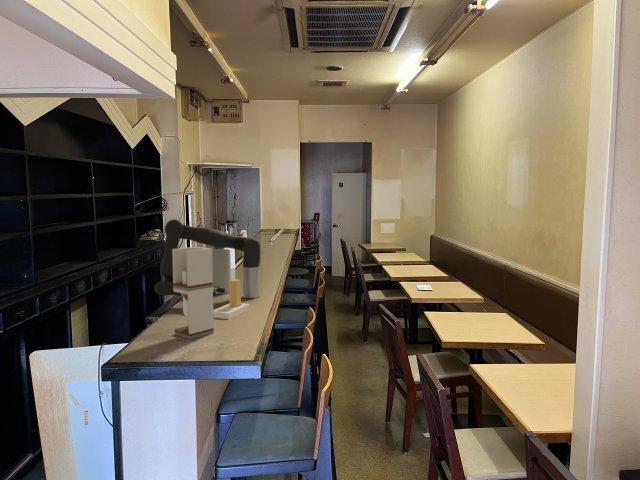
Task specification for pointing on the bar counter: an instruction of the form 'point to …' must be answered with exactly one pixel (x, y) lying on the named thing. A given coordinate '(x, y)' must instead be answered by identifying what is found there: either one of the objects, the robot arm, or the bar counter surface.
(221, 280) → the cylinder vase
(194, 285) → the white tower
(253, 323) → the bar counter surface
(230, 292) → the plug
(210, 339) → the bar counter surface
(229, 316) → the white socket board
